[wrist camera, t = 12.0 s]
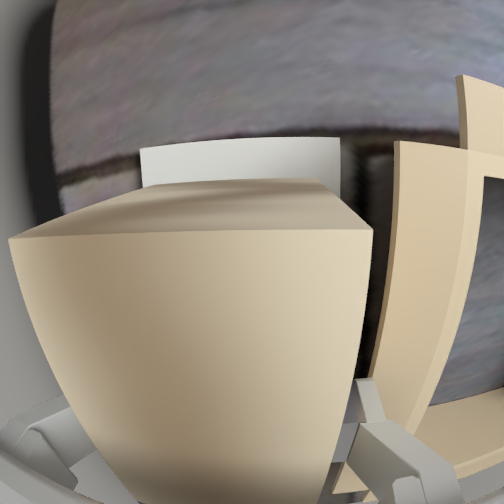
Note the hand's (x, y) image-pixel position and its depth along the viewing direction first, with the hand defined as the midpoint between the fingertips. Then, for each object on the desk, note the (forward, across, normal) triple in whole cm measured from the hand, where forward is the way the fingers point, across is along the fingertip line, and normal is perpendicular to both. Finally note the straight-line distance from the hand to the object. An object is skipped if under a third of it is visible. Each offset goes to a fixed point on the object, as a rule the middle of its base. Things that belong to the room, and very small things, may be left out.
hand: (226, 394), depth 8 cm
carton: (+6, -14, +1) cm, 15 cm away
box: (+3, 0, 0) cm, 3 cm away
